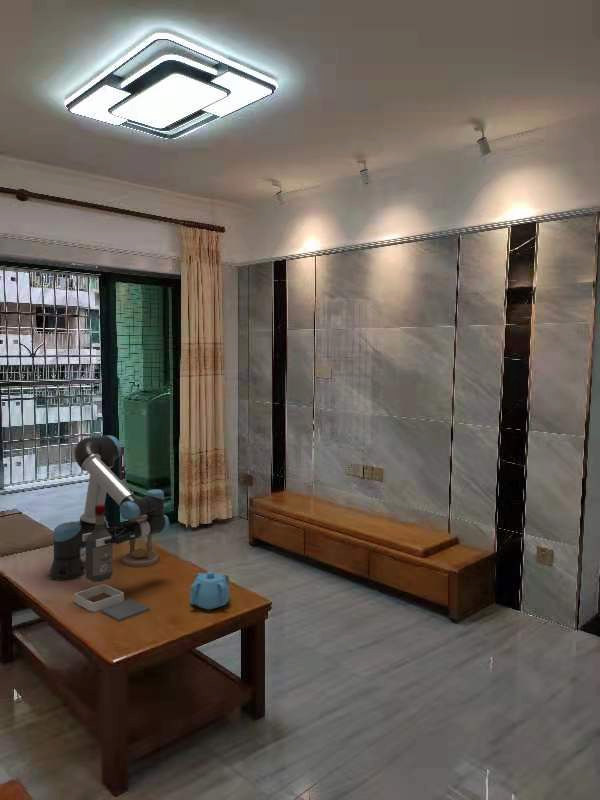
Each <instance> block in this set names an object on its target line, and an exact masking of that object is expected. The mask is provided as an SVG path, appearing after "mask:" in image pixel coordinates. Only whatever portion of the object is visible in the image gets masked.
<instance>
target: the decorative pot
mask: <svg viewBox="0 0 600 800" xmlns="http://www.w3.org/2000/svg"><path fill="white" fill-rule="evenodd" d="M229 582H230V577H229V575H228V574H227V573H221V574H220V573H217V572H214V571H207V572H206V573H202V572H199V573H196V575H195V578H194V581H193V583H192V584H191V586H190V594H189V597H190V599H189V603H190V604H191V605H195V606H196V607H198V608H201V609H204V610H205V609H211V610H213V609H217V608H221V607H223V606H225V605H226V604H228V602H229V600H230V598H231V594H230V593H231V592H230V587H229Z"/></svg>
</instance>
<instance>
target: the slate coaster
mask: <svg viewBox="0 0 600 800" xmlns="http://www.w3.org/2000/svg"><path fill="white" fill-rule="evenodd" d="M150 610H151V607H150V606H147V605H145V604H142V603H140V602H139V601H137V600H134V599H132V598H129V599H126V600H124V601H123V602H120V603H117V604H114V605H111V606H109V607H106V608H103V609H100V610H99V611H100V613H102V614H104V615H106V616H108V617H109V618H112V619H114V620H115V621H117V622H119V623H120V622H122V621H124V620H128V619H130V618H133V617H136V616H138V615H141V614H143V613H146V612H148V611H150Z"/></svg>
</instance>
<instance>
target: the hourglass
mask: <svg viewBox="0 0 600 800" xmlns="http://www.w3.org/2000/svg"><path fill="white" fill-rule="evenodd" d="M145 518H147V515H143V516H140V517H137V518H135V519H129V520H128V521H129V522H132V521H136V520H140V519H145ZM146 537H147V541H146V543H145V546H146V548H143V547H140V548H137V549H135V548H136V547H135V546H136V539H132V540H128V541H129V553H126V554H124V555H123V557H121V558H122V561H121V563H122V564H123V565H125V566H127V567H131V568H132V567H133V568H142V567H143V568H144V567H149V566H153V565H155V564H156V563H158V562H159V560H160V557H159V554H158V553H156V552H154V551H153V541H152V540H153V539H152V537H153V534H152V535H148V536H146ZM139 539H142V538H141V537H140V538H139Z"/></svg>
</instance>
